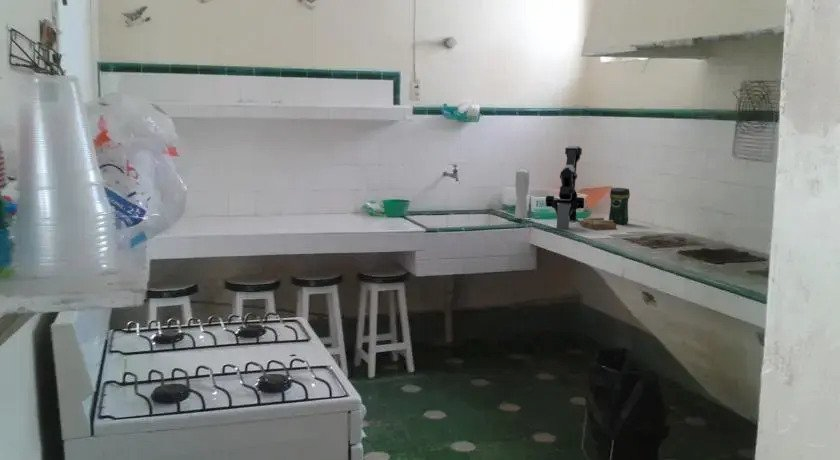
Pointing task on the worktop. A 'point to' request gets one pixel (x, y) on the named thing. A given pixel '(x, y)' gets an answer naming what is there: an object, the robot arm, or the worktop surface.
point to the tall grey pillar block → (563, 216)
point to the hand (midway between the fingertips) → (563, 215)
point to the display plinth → (597, 223)
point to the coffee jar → (619, 205)
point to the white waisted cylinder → (522, 194)
